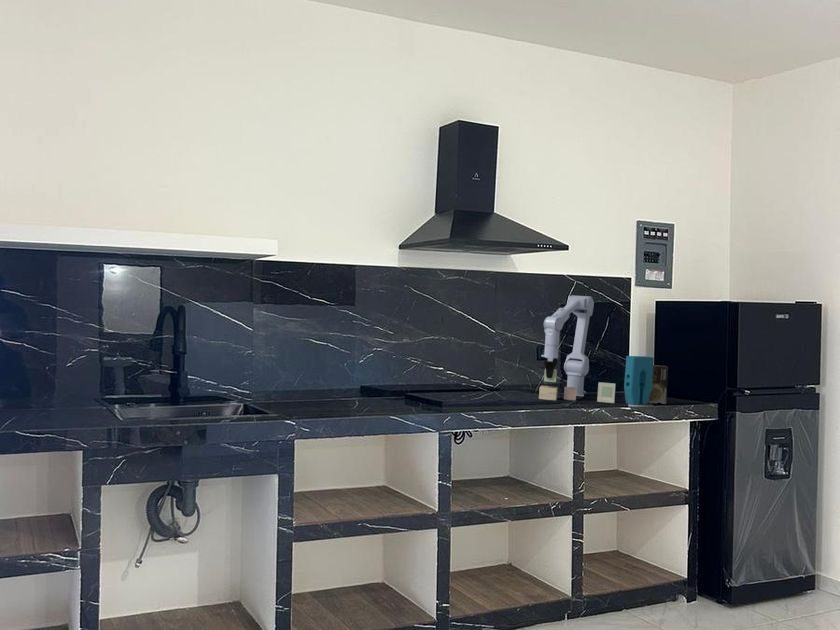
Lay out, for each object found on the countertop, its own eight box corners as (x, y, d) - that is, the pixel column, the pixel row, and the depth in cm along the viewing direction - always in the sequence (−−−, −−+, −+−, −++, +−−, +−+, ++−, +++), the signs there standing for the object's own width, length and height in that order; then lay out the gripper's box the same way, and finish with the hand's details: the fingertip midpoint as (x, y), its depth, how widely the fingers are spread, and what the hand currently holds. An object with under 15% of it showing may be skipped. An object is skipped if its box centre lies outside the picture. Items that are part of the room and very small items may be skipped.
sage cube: (544, 380, 371) (545, 368, 371) (556, 381, 370) (557, 369, 370) (543, 381, 366) (544, 369, 366) (555, 382, 365) (556, 370, 365)
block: (642, 402, 376) (646, 356, 375) (651, 404, 371) (654, 357, 371) (621, 403, 370) (625, 355, 369) (630, 404, 365) (633, 357, 365)
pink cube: (563, 398, 374) (564, 386, 374) (575, 399, 373) (576, 387, 373) (563, 399, 369) (564, 387, 369) (575, 400, 369) (576, 388, 368)
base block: (540, 397, 372) (541, 385, 372) (556, 398, 371) (557, 387, 371) (538, 399, 365) (539, 387, 365) (555, 400, 364) (556, 388, 364)
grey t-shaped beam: (597, 400, 372) (598, 381, 372) (613, 402, 371) (615, 383, 371) (597, 401, 368) (598, 382, 368) (614, 403, 367) (615, 384, 367)
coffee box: (663, 402, 382) (666, 365, 381) (666, 404, 375) (668, 367, 375) (642, 401, 383) (644, 364, 382) (644, 402, 376) (647, 365, 376)
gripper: (542, 343, 375) (540, 375, 376) (541, 345, 361) (539, 378, 361) (559, 344, 374) (557, 376, 374) (558, 346, 360) (556, 379, 360)
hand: (549, 377), depth 368 cm, fingers closed on sage cube, 5 cm apart
